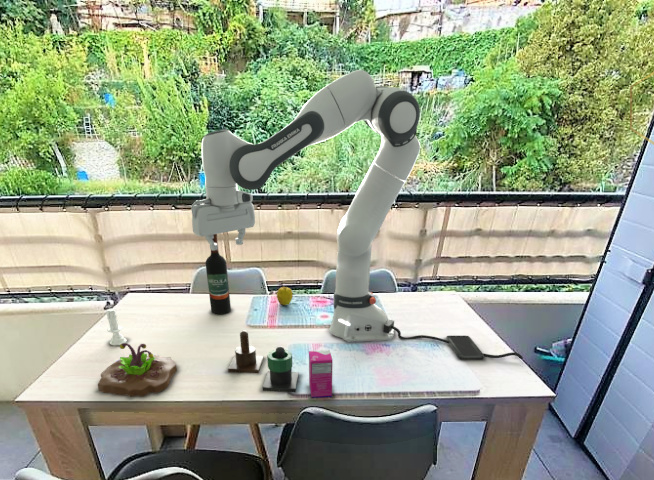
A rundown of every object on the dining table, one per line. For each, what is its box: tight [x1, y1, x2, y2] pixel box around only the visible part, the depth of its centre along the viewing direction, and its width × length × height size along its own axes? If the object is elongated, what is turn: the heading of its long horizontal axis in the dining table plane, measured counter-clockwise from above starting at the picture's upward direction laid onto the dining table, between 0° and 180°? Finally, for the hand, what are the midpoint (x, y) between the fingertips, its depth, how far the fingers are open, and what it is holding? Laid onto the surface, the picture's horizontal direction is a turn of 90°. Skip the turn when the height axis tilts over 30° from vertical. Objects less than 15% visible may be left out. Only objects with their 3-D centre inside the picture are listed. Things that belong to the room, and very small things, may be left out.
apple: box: [276, 286, 294, 306], centre depth 167 cm, size 6×6×8 cm
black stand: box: [261, 345, 300, 393], centre depth 114 cm, size 9×9×11 cm
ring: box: [266, 349, 293, 373], centre depth 113 cm, size 6×6×4 cm
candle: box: [105, 308, 128, 346], centre depth 136 cm, size 5×5×12 cm
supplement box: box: [308, 349, 334, 399], centre depth 110 cm, size 6×6×12 cm
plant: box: [97, 342, 178, 398], centre depth 116 cm, size 20×20×11 cm
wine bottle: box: [205, 234, 232, 316], centre depth 155 cm, size 8×8×30 cm
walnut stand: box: [227, 330, 265, 374], centre depth 123 cm, size 9×9×11 cm
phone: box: [445, 335, 485, 360], centre depth 135 cm, size 8×1×15 cm
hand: (227, 247), depth 124 cm, fingers open, 8 cm apart
